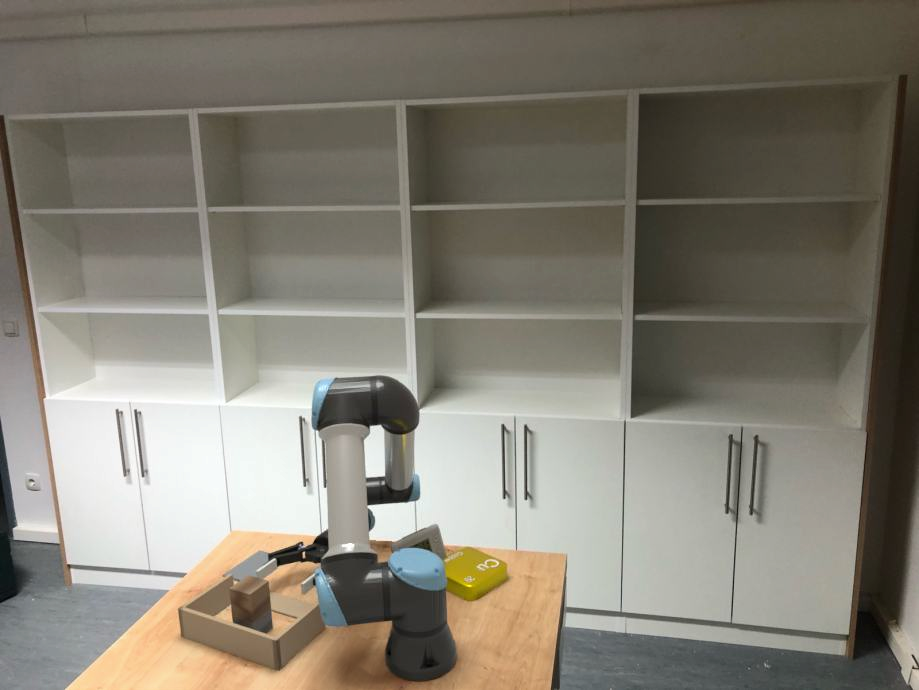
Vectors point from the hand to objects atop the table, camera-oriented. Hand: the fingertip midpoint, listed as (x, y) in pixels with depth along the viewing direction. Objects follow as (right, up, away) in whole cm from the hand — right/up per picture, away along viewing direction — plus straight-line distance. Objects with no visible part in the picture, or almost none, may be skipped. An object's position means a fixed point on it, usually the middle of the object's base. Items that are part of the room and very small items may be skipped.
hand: (279, 582), depth 167 cm
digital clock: (+32, -3, +17) cm, 37 cm away
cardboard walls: (-3, -8, -4) cm, 10 cm away
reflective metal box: (-4, -9, -7) cm, 12 cm away
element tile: (+45, -4, +13) cm, 47 cm away
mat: (-11, -3, +21) cm, 24 cm away
